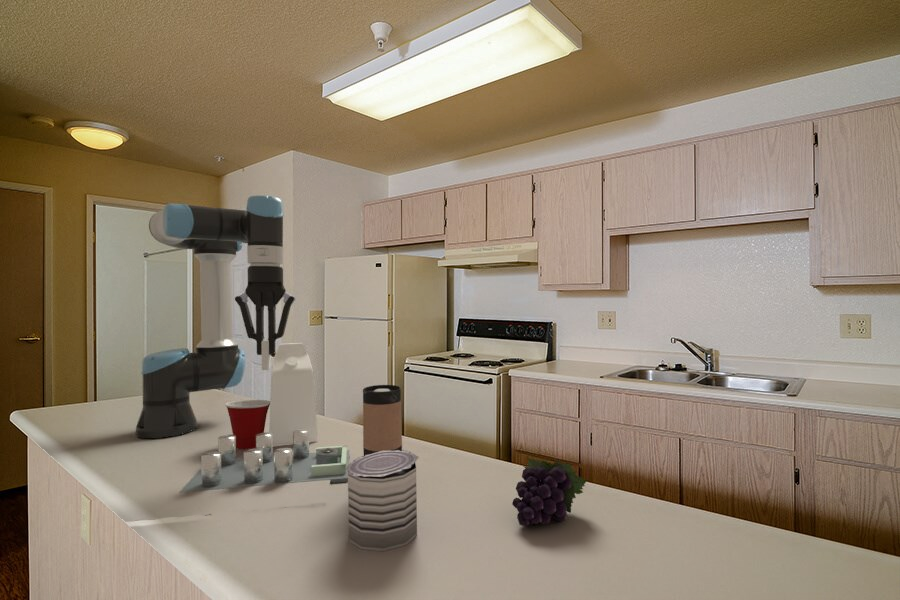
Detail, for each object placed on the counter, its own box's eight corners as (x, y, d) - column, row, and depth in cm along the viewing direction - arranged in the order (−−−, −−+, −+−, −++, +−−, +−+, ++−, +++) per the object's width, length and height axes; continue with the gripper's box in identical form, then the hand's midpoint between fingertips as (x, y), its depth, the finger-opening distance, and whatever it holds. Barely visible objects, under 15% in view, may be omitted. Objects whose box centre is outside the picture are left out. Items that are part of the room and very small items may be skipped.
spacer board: (207, 464, 110) (207, 460, 110) (349, 453, 116) (349, 450, 116) (179, 496, 92) (179, 492, 92) (347, 481, 98) (347, 477, 98)
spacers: (222, 459, 110) (222, 434, 110) (310, 453, 114) (309, 428, 114) (197, 490, 93) (197, 459, 93) (301, 481, 97) (301, 452, 97)
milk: (314, 432, 135) (313, 340, 134) (317, 444, 124) (316, 344, 123) (269, 437, 130) (267, 342, 130) (268, 450, 120) (266, 346, 119)
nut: (317, 461, 108) (317, 448, 108) (338, 460, 109) (337, 446, 109) (315, 469, 103) (315, 455, 103) (337, 468, 104) (336, 454, 104)
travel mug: (408, 483, 97) (407, 385, 97) (392, 498, 90) (390, 393, 90) (375, 479, 100) (374, 383, 100) (356, 493, 93) (355, 390, 92)
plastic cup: (281, 444, 124) (280, 398, 124) (247, 457, 114) (246, 407, 114) (251, 439, 128) (250, 395, 128) (216, 452, 119) (215, 404, 118)
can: (408, 555, 70) (407, 474, 70) (335, 548, 72) (334, 470, 72) (425, 519, 82) (424, 449, 82) (362, 514, 84) (361, 446, 84)
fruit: (509, 543, 79) (546, 491, 91) (567, 553, 73) (599, 496, 84) (491, 487, 78) (531, 442, 90) (548, 493, 72) (583, 443, 83)
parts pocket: (316, 456, 112) (316, 447, 112) (346, 453, 114) (346, 445, 114) (311, 476, 99) (311, 466, 99) (345, 473, 101) (345, 464, 101)
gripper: (230, 264, 103) (231, 372, 104) (293, 265, 105) (293, 371, 106) (238, 265, 110) (239, 367, 111) (297, 266, 113) (297, 365, 114)
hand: (266, 368), depth 109 cm, fingers closed
